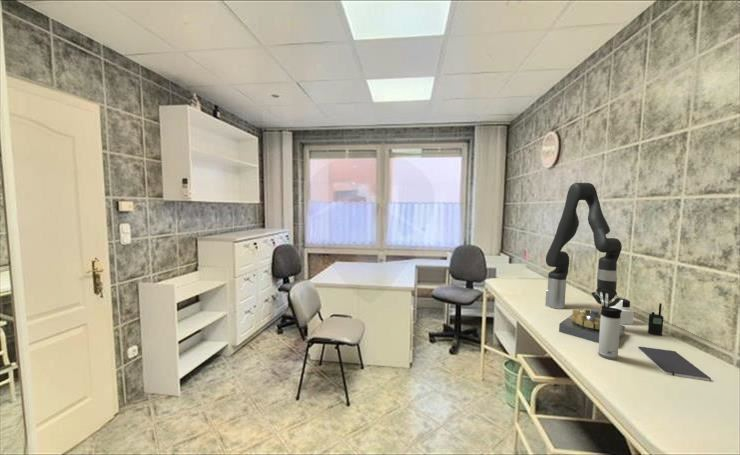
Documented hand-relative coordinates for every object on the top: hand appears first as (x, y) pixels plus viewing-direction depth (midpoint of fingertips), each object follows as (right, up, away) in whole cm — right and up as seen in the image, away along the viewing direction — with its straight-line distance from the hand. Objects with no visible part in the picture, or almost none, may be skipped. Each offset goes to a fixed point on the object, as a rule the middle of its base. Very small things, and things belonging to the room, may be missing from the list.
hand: (605, 313), depth 152 cm
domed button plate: (-10, -8, -5) cm, 14 cm away
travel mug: (-20, -10, -27) cm, 35 cm away
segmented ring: (-8, -3, -3) cm, 8 cm away
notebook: (0, -11, -32) cm, 34 cm away
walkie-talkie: (+19, -8, -5) cm, 22 cm away
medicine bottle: (+16, -7, +10) cm, 20 cm away
